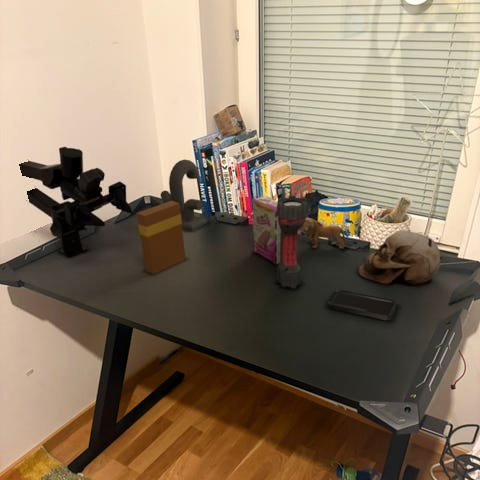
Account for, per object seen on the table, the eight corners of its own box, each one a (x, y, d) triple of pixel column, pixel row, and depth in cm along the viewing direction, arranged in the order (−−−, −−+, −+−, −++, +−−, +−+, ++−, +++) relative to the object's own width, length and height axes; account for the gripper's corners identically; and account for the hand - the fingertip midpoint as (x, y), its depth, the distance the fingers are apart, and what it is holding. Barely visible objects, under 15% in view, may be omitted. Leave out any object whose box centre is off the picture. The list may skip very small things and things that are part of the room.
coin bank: (353, 268, 133) (364, 222, 126) (408, 265, 138) (421, 220, 130) (381, 297, 121) (395, 248, 113) (441, 293, 125) (457, 245, 118)
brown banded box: (145, 270, 137) (136, 213, 128) (177, 256, 144) (171, 200, 135) (153, 274, 135) (144, 216, 126) (185, 259, 142) (179, 203, 133)
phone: (336, 289, 122) (397, 301, 116) (336, 292, 123) (397, 305, 116) (326, 303, 116) (390, 317, 110) (326, 307, 117) (389, 321, 111)
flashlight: (298, 294, 123) (301, 207, 110) (270, 288, 126) (270, 202, 114) (309, 281, 128) (314, 196, 116) (283, 275, 132) (284, 192, 119)
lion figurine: (300, 250, 145) (301, 221, 140) (299, 242, 149) (300, 214, 144) (350, 249, 144) (353, 220, 139) (347, 242, 148) (350, 214, 143)
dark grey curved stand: (221, 216, 171) (217, 158, 160) (194, 231, 160) (188, 170, 149) (180, 207, 179) (174, 152, 168) (152, 222, 168) (144, 163, 157)
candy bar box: (252, 252, 145) (251, 198, 136) (265, 247, 147) (265, 194, 138) (275, 265, 137) (275, 209, 128) (289, 260, 139) (290, 205, 130)
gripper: (46, 176, 122) (86, 204, 117) (104, 154, 133) (144, 179, 128) (52, 213, 130) (90, 241, 125) (106, 189, 141) (144, 214, 136)
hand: (118, 217), depth 128 cm, fingers open, 9 cm apart
